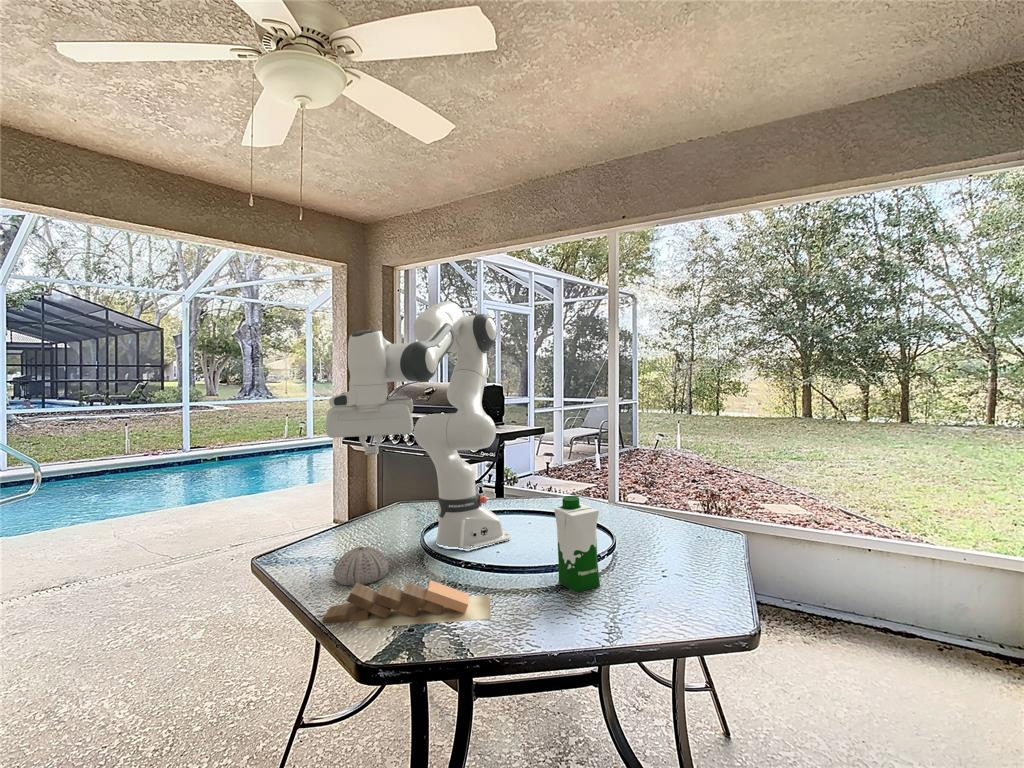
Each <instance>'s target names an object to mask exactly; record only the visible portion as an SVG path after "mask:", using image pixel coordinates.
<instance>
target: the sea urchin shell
mask: <svg viewBox="0 0 1024 768" xmlns="http://www.w3.org/2000/svg"><path fill="white" fill-rule="evenodd" d="M389 567H390V566H389V562H388V560H387V558H385V555H384V554H383V553H381V552H380V551H379V550H378V549H376V548H374V547H369V546H366V547H365V546H356V547H355V548H352V549H350V550H348V551H346V552H345V553H344V554H343V555H342V556H341V557H340V558H339V559H338V561H337V562H336V564H335V566H334V567H333V568H334V569H333V570H332V571H333V575H334V576H333V577H334V579H336V583H338V585H339V584H341V585H342V586H343V585H344V586H350V587H351V586H353V587H354V586H355V584H356V582H357V583H359V584H362V585H364V586H366V585H368V584H372V583H375V582H377V581H379V580H382V579H383V578H384V577H386V575H387V573H388V572H389Z"/></svg>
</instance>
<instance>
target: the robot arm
mask: <svg viewBox="0 0 1024 768" xmlns="http://www.w3.org/2000/svg"><path fill="white" fill-rule="evenodd" d="M413 334H414V337H415V338H416V340H417V341H415V342H414V341H413V342H403V343H401V342H400V343H392V342H390V341H388V340H387V339H386V338H385V337H384V335H383V332H382V330H380V329H376V328H372V329H365V330H357V331H354V332H352V333H351V334H350V335H349V339H348V341H347V342H348V344H347V366H348V367H347V368H348V371H349V376H350V377H349V382H348V389H349V390H348V391H345V392H342V393H340V394H338V395H335V396H334V395H333V396H332V397H330V398H329V401H328V403H329V406H330V408H329V409H328V411H327V412H326V419H325V434H326V435H327V437H329V438H330V439H331V438H350V437H351V438H354V437H358V439H359V440H358V441H359V443H360V445H362V447H363V448H364V456H370V455H371V456H372V455H378V454H379V452H380V451H379V447H380V445H381V443H382V441H383V436H390V435H391V436H394V435H409V434H411V433H412V432H413V436H414V440H415V442H416V443H417V444H418V446H419V447H421V448H422V449H423V450H424V451H425V452H426V453H427V454H428V456H429V458H430V459H431V461H432V463H433V465H434V467H435V470H436V476H437V487H438V496H437V504H436V505H437V515H438V527H437V536H436V540H435V543H437V544H439V545H443V546H448V547H458V548H463V549H471V548H475V547H480V546H484V545H489V544H493V543H498V542H502V543H504V542H503V541H505V542H509V541H510V540H511V535H510V533H509V532H508V531H507V530H506V529H505V528H503V525H502V521H501V519H500V518H499V516H498V515H497V514H496V513H494V512H493V511H491V510H490V509H489V508H487V507H485V506H484V505H483V504H486V503H488V498H487V497H486V496H485V495H481V494H479V493H476V473H475V469H474V467H473V466H472V465H471V464H470V463H468V462H466V461H465V460H463V458H462V457H461V456H460V454H459V453H458V451H476V450H477V451H478V450H482V449H487V448H490V447H491V445H492V444H493V442H494V441H495V439H496V435H497V427H496V424H495V422H494V420H493V419H492V417H491V416H490V415H488V414H487V413H486V411H485V410H484V408H483V404H482V402H483V395H484V389H485V384H486V381H487V375H488V359H487V356H486V354H487V353H489V352H490V351H491V349H492V346H493V345H494V344H495V342H496V339H497V336H498V329H497V324H496V322H495V320H494V318H492V316H491V315H489V314H487V313H477V314H476V315H466V316H464V314H463V310H462V308H461V307H460V306H459V305H458V303H455V302H453V301H450V300H445V301H441V302H438V303H435V304H434V305H431V306H430V307H428V308H427V309H426V310H424V311H423V312H421V313H420V314H419V315H418V316H417V318H415V321H414V323H413ZM452 353H458V358H457V361H456V363H455V365H454V367H453V371H452V374H451V377H450V380H449V383H448V388H447V390H446V398H447V400H448V402H449V404H451V406H452V407H454V408H455V409H457V411H456V412H454V413H452V412H451V413H432V414H427V415H423V416H420V417H419V418H418V420H417V421H416V422H415V424H414V419H413V411H414V402H413V399H412V398H410V397H408V396H407V395H389V392H388V383H389V382H390V383H392V382H395V383H396V382H397V383H398V382H399V383H400V382H416V383H426V382H429V381H430V380H431V379H432V378H433V377H434V376H435V375H436V372H437V371H438V367H439V364H440V363H441V361H442V359H444V357H445V355H446V354H452ZM373 436H374V440H375V441H376V443H375V444H374V446H369V444H368V443H367V441H366V440H367V439H368V437H373ZM508 540H509V541H508ZM498 544H499V543H498ZM471 546H472V547H471Z"/></svg>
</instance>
